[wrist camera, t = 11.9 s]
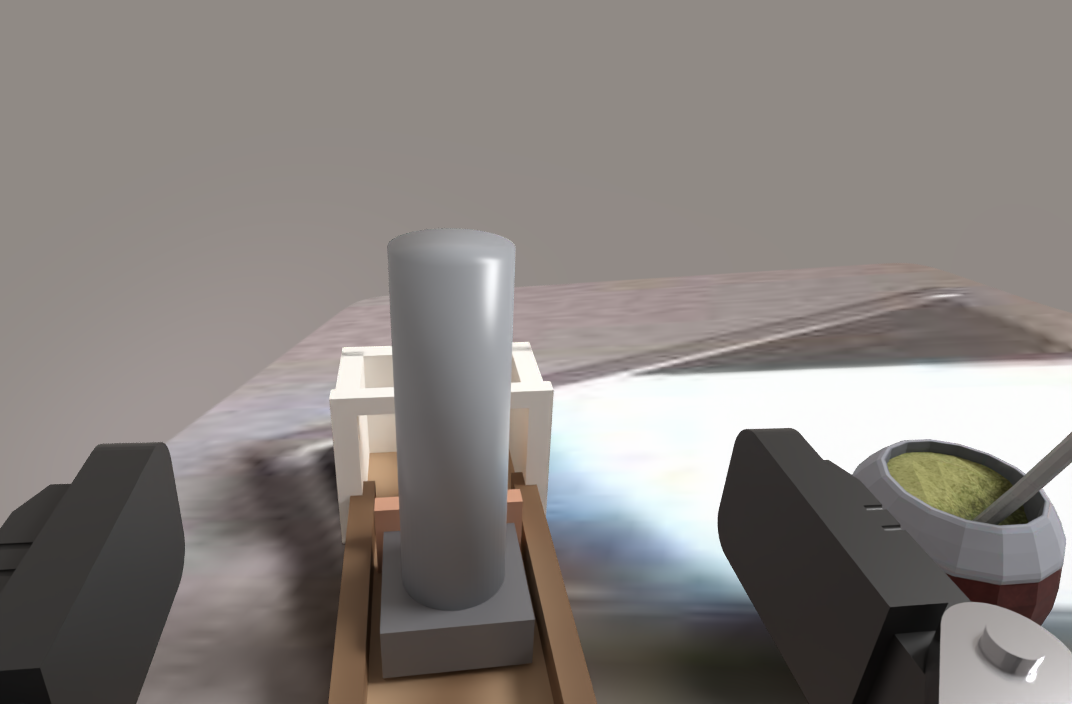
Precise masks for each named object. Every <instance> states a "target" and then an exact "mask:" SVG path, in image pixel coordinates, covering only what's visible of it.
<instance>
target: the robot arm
mask: <svg viewBox="0 0 1072 704" xmlns="http://www.w3.org/2000/svg"><path fill="white" fill-rule="evenodd" d="M718 533H719V539H720V543H721V546H722V549H723V552H724V554H725V556H726V557H727V559H728V561H729V563H730V565H731V566H732V568H733V570H734V572H735V573H736V575H737V577H738V579H739V580H740V582H741V584H742V586H743V588H744V589H745V591H746V593H747V595H748V596H749V598H750V600H751V602H752V603H753V605H754V607H755V609H756V611H757V612H758V614H759V616H760V618H761V619H762V621H763V623H764V625H765V626H766V628H767V630H768V632H769V634H770V635H771V637H772V639H773V641H774V642H775V644H776V646H777V648H778V649H779V651H780V653H781V655H782V657H783V658H784V660H785V662H786V664H787V665H788V667H789V669H790V671H791V672H792V674H793V676H794V678H795V680H796V681H797V683H798V685H799V687H800V688H801V690H802V692H803V694H804V695H805V697H806V699H807V701H808V703H809V704H1072V653H1071V652H1070V651H1069V650H1068V649H1067V648H1066V646H1065V645H1064V644H1063V643H1062V642H1061V641H1059V640H1058V639H1057V638H1056V637H1055V636H1054V635H1053V634H1051V633H1050V632H1048V631H1047V630H1046V629H1044V628H1043V627H1042V626H1040V625H1038V624H1037V623H1035V622H1033V621H1032V620H1030V619H1028V618H1026V617H1024V616H1022V615H1020V614H1018V613H1016V612H1013V611H1011V610H1008V609H1006V608H1002V607H999V606H996V605H992V604H987V603H980V602H971V601H970V600H969V598H968V597H967V596H966V595H965V594H964V593H963V592H962V591H961V590H960V589H959V588H958V586H957V585H956V584H955V583H954V582H953V581H952V580H951V579H950V578H949V577H948V576H947V574H946V573H945V572H944V571H943V570H942V569H941V568H940V567H939V566H938V565H937V564H936V563H935V561H934V560H933V559H932V558H931V557H930V556H929V555H928V554H927V553H926V552H925V551H924V549H923V548H922V547H921V546H920V545H919V544H918V543H917V542H916V541H915V540H914V539H913V537H912V536H911V535H910V534H909V533H908V532H907V531H906V530H901V524H900V523H899V522H898V521H897V520H896V519H895V518H894V517H893V516H892V515H891V513H890V512H889V511H888V510H887V509H884V510H883V508H882V504H881V503H880V502H879V500H878V499H877V498H876V497H875V496H874V495H873V494H872V493H871V492H870V491H869V490H868V488H867V487H866V486H865V485H864V484H863V483H862V482H861V481H860V480H859V479H857V478H856V477H854V476H853V475H851V474H849V473H848V472H846V471H845V470H843V469H842V468H840V467H839V466H837V465H835V464H834V463H832V462H831V461H829V460H823V459H822V458H821V457H820V456H819V455H818V454H817V452H816V451H815V450H814V449H813V448H812V447H811V446H810V444H809V443H808V442H807V441H806V440H805V439H804V438H803V437H802V435H801V434H800V433H799V432H798V431H796V430H795V429H792V428H779V429H745V430H742V431H741V432H740V433H739V434H738V436H737V438H736V440H735V444H734V448H733V452H732V456H731V460H730V465H729V469H728V473H727V477H726V482H725V486H724V490H723V494H722V498H721V503H720V507H719V512H718ZM184 556H185V540H184V531H183V525H182V520H181V514H180V508H179V502H178V496H177V491H176V485H175V479H174V473H173V467H172V462H171V457H170V453H169V450H168V448H167V446H166V445H165V444H164V443H163V442H158V443H156V442H155V443H115V444H100V445H98V446H96V447H95V448H94V450H93V451H92V453H91V454H90V456H89V457H88V459H87V460H86V462H85V463H84V465H83V467H82V468H81V470H80V471H79V473H78V474H77V476H76V477H75V479H74V480H73V482H72V484H54V485H49V486H48V487H46V488H45V489H44V490H42V491H41V492H40V493H38V494H37V495H35V496H34V497H33V498H31V499H30V500H28V501H27V502H26V503H24V504H23V505H21V506H20V507H19V508H17V509H16V510H15V511H13V512H12V513H11V515H10V516H9V517H8V519H7V520H6V521H5V523H4V524H3V526H2V527H1V528H0V704H136V703H137V700H138V697H139V694H140V691H141V689H142V686H143V683H144V680H145V678H146V675H147V672H148V669H149V667H150V664H151V661H152V658H153V656H154V653H155V650H156V647H157V645H158V642H159V639H160V636H161V634H162V631H163V628H164V625H165V623H166V620H167V617H168V614H169V612H170V609H171V606H172V603H173V601H174V598H175V595H176V592H177V590H178V587H179V584H180V581H181V577H182V572H183V566H184Z"/></svg>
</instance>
